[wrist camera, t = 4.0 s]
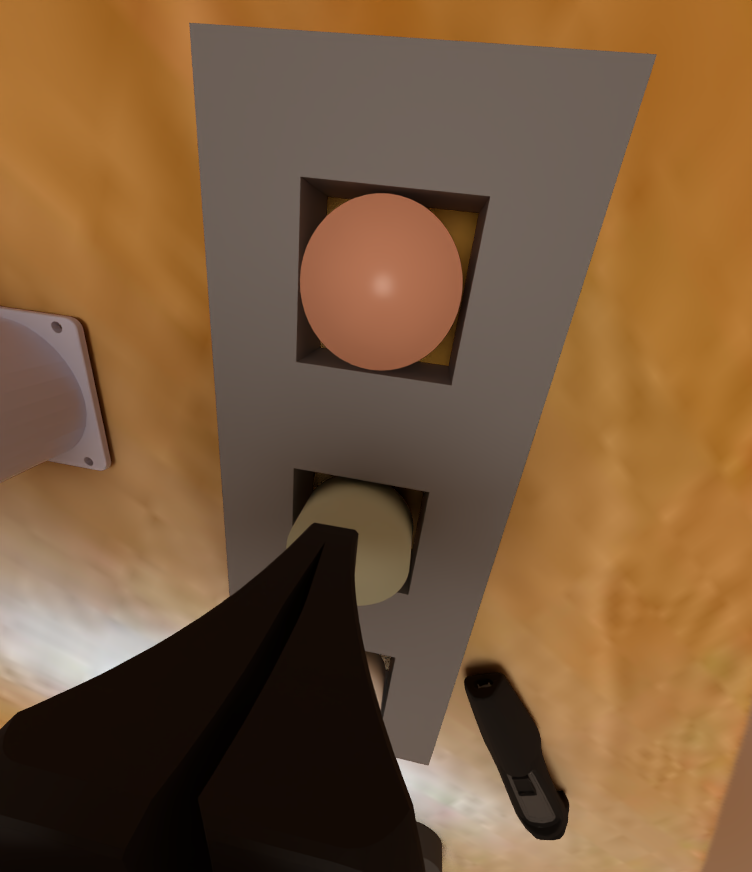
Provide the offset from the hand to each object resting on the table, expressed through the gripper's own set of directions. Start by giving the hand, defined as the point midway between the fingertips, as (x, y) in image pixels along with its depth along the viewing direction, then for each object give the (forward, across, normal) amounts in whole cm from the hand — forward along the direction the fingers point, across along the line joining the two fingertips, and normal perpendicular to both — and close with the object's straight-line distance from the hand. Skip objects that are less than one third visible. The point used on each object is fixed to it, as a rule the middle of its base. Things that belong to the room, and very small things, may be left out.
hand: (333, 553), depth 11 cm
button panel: (+7, 0, +3) cm, 8 cm away
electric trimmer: (+8, -11, +20) cm, 24 cm away
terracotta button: (+6, 0, -7) cm, 9 cm away
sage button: (+5, 0, +3) cm, 6 cm away
